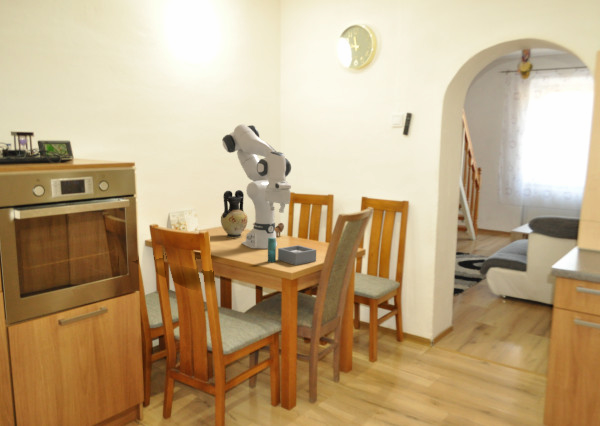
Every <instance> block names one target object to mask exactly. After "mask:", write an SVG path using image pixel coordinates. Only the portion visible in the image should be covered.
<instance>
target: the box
mask: <svg viewBox="0 0 600 426" xmlns="http://www.w3.org/2000/svg"><path fill="white" fill-rule="evenodd" d="M277 251H278V252H277V260H278V261H281V262H283V263H288V264H291V265H294V266H297V265H298V266H299V265H305V264H308V263H313V262H317V249H316V248H311V247H308V246H303V245H299V244H298V245H292V246H286V247H279V248H277Z"/></svg>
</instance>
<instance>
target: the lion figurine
mask: <svg viewBox="0 0 600 426" xmlns="http://www.w3.org/2000/svg"><path fill="white" fill-rule="evenodd" d="M284 228H285V224H284V223H283V222H278V225H276V226H275V229H274V230H275V232H276V237H277V236H278V237H279V238H281V233H283V231H284Z"/></svg>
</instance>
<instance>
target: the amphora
mask: <svg viewBox="0 0 600 426" xmlns="http://www.w3.org/2000/svg"><path fill="white" fill-rule="evenodd" d="M244 196H245V195H244V192H243V191H242V190H240V189H239V190H238V189H237V190H236V191H235V192H234V196H233V192H232V191H231V190H226V191H225V192H224V193H223V207H224V211H223V213H221V216H220V224H221V226H222V229H223V231H224V232H225V233H226V234H227V236H226V237H227V238H233V239H236V238H237V239H239V238H242V236H243V235H242V233H243V232H244V231H245V229H246V228H247V225H248V222H249V221H248V215H247V214H246V212H245V211H244V200H245V199H244Z"/></svg>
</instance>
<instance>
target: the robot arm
mask: <svg viewBox="0 0 600 426" xmlns="http://www.w3.org/2000/svg"><path fill="white" fill-rule="evenodd" d="M222 147H223V148H224V150H225V151H226V152H227V153H230V154H231V153H235V152H236V155H237V158H238V160H239V163H240V165H241V168H242V169H243V172H244V173H245V175H246V176H247V178H248V179H249V180H251V181H252V182H250V183H248V184H247V186H246V195H247V197H248V198H249V199H250V200H251V201H252V203H253V205H254V211H255V212H254V213H255V216H254V220H255V222H253V223H252V226H253V228H252V229H251V230H250V231H249V232H248V233H247V234H246V236H245V240H244V241H242V242H241V244H242V245H244V246H246V247H247V248H250V249H265V250H266V249H267V250H268V238H276V239H277V236H276V232H275V230H274V229H275V227H276V222H275V212H276V211H275V205H274V203H275V204H279V206H280V208H279V209H278V212H279V213H282V214H284V213H285V212H284V211H285V207H286V205H289V204H290V202H291V188H292V185H291V183H289V182H288V181H287V177H288V175H290V173H291V170H292V165H291V163H290V161H289V159H288V158H286V155H285V154H284V152H281V151H277V150H276V149H274V147H272V146H271V145H270V144H268V143H267V142H266V141H264V140H262V138H260V132H259V130H258V129H257V127H256V126H254V125H246V124H239V125H237V126H236V127H235V128H234V130H233V131H232V132H230V133H229V134H226V135H224V136H223V138H222ZM259 156H260V157H264V158H259ZM277 246H278V242H276V248H277Z"/></svg>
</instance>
